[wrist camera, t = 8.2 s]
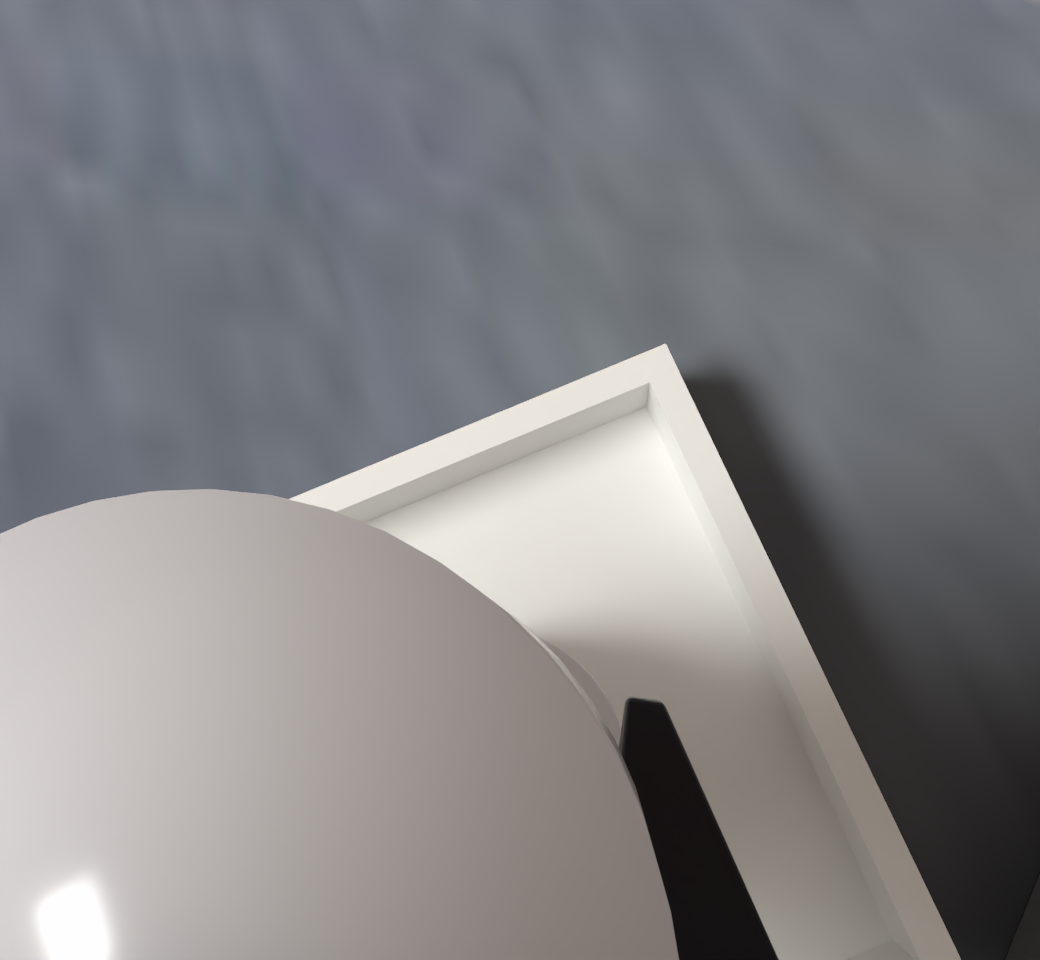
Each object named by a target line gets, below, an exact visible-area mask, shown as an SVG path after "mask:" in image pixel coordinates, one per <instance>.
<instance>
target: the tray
mask: <svg viewBox="0 0 1040 960" xmlns="http://www.w3.org/2000/svg"><path fill="white" fill-rule="evenodd" d="M289 500H293V501H297V502H301V503H305V504H309V505H314V506H318V507H322V508H326V509H330V510H332V511H335V512H337V513H340V514H342V515H345V516H348V517H350V518H353V519H355V520H358V521H360V522H363V523H365V524H368V525H370V526H373V527H375V528H378V529H380V530H383V531H386V532H387V533H389V534H391V535H393V536H395V537H396V538H398V539H400V540H402V541H403V542H405V543H407V544H409V545H411V546H412V547H414V548H416V549H418V550H419V551H421V552H423V553H425V554H427V555H428V556H430V557H432V558H434V559H435V560H437V561H439V562H441V563H442V564H443V565H445V566H446V567H448V568H449V569H450V570H452V571H453V572H454V573H456V574H457V575H459V576H460V577H461V578H463V579H464V580H465V581H467V582H468V583H470V584H471V585H472V586H474V587H475V588H476V589H478V590H479V591H481V592H482V593H483V594H485V595H486V596H487V597H489V598H490V599H492V600H493V601H494V602H496V603H497V604H498V605H499V606H501V607H502V608H503V609H505V610H506V611H507V612H509V613H510V614H511V615H513V616H514V617H515V618H517V619H518V620H519V621H521V622H522V623H523V624H525V625H526V626H527V627H528V628H529V629H530V630H531V631H532V632H533V633H534V634H535V635H536V636H537V637H539V638H541V639H543V640H545V641H547V642H548V643H550V644H552V645H554V646H556V647H557V648H559V649H560V650H562V651H563V652H565V653H566V654H567V655H569V656H570V657H571V658H573V659H574V660H575V661H577V662H578V663H579V664H580V665H581V666H582V667H583V668H584V669H585V670H586V671H587V672H588V673H589V674H590V675H591V676H592V677H593V679H594V680H595V681H596V682H597V684H598V685H599V686H600V687H601V689H602V690H603V692H604V694H605V695H606V697H607V699H608V700H609V702H610V704H611V706H612V708H613V710H614V712H615V715H616V717H617V719H618V722H619V725H620V729H621V727H622V720H623V713H624V705H625V701H626V699H627V698H628V697H630V696H634V697H641V698H648V699H654V700H659V701H661V702H662V703H663V704H664V705H665V706H666V708H667V710H668V713H669V715H670V717H671V719H672V722H673V724H674V726H675V728H676V731H677V733H678V735H679V737H680V740H681V742H682V744H683V746H684V749H685V751H686V753H687V755H688V758H689V760H690V762H691V764H692V767H693V769H694V771H695V773H696V775H697V778H698V780H699V782H700V784H701V787H702V789H703V791H704V793H705V796H706V798H707V800H708V802H709V805H710V807H711V809H712V811H713V814H714V816H715V818H716V820H717V823H718V825H719V827H720V829H721V831H722V834H723V836H724V838H725V840H726V843H727V845H728V847H729V849H730V852H731V854H732V856H733V858H734V861H735V863H736V865H737V867H738V870H739V872H740V874H741V876H742V879H743V881H744V883H745V885H746V887H747V890H748V892H749V894H750V896H751V899H752V901H753V903H754V905H755V908H756V910H757V912H758V914H759V917H760V919H761V921H762V923H763V926H764V928H765V930H766V932H767V935H768V937H769V939H770V941H771V943H772V946H773V948H774V950H775V952H776V955H777V957H778V959H779V960H961V958H960V956H959V954H958V952H957V950H956V948H955V946H954V943H953V941H952V939H951V937H950V935H949V933H948V931H947V929H946V927H945V925H944V923H943V921H942V918H941V916H940V914H939V912H938V910H937V908H936V906H935V904H934V902H933V900H932V898H931V896H930V893H929V891H928V889H927V887H926V885H925V883H924V881H923V879H922V877H921V875H920V873H919V871H918V868H917V866H916V864H915V862H914V860H913V858H912V856H911V854H910V852H909V850H908V848H907V846H906V843H905V841H904V839H903V837H902V835H901V833H900V831H899V829H898V827H897V825H896V823H895V821H894V818H893V816H892V814H891V812H890V810H889V808H888V806H887V804H886V802H885V800H884V798H883V796H882V793H881V791H880V789H879V787H878V785H877V783H876V781H875V779H874V777H873V775H872V773H871V770H870V768H869V766H868V764H867V762H866V760H865V758H864V756H863V754H862V752H861V750H860V748H859V745H858V743H857V741H856V739H855V737H854V735H853V733H852V731H851V729H850V727H849V725H848V723H847V720H846V718H845V716H844V714H843V712H842V710H841V708H840V706H839V704H838V702H837V700H836V698H835V695H834V693H833V691H832V689H831V687H830V685H829V683H828V681H827V679H826V677H825V675H824V673H823V670H822V668H821V666H820V664H819V662H818V660H817V658H816V656H815V654H814V652H813V650H812V648H811V645H810V643H809V641H808V639H807V637H806V635H805V633H804V631H803V629H802V627H801V625H800V622H799V620H798V618H797V616H796V614H795V612H794V610H793V608H792V606H791V604H790V602H789V600H788V597H787V595H786V593H785V591H784V589H783V587H782V585H781V583H780V581H779V579H778V577H777V575H776V572H775V570H774V568H773V566H772V564H771V562H770V560H769V558H768V556H767V554H766V552H765V550H764V547H763V545H762V543H761V541H760V539H759V537H758V535H757V533H756V531H755V529H754V527H753V525H752V522H751V520H750V518H749V516H748V514H747V512H746V510H745V508H744V506H743V504H742V502H741V500H740V497H739V495H738V493H737V491H736V489H735V487H734V485H733V483H732V481H731V479H730V477H729V474H728V472H727V470H726V468H725V466H724V464H723V462H722V460H721V458H720V456H719V454H718V452H717V449H716V447H715V445H714V443H713V441H712V439H711V437H710V435H709V433H708V431H707V429H706V427H705V424H704V422H703V420H702V418H701V416H700V414H699V412H698V410H697V408H696V406H695V404H694V402H693V399H692V397H691V395H690V393H689V391H688V389H687V387H686V385H685V383H684V381H683V379H682V377H681V374H680V372H679V370H678V368H677V366H676V364H675V362H674V360H673V358H672V356H671V354H670V352H669V349H668V347H667V345H666V344H664V345H661V346H659V347H657V348H654V349H652V350H649V351H647V352H644V353H642V354H640V355H637V356H635V357H632V358H630V359H627V360H625V361H623V362H620V363H618V364H615V365H613V366H610V367H608V368H606V369H603V370H601V371H598V372H596V373H594V374H591V375H589V376H586V377H584V378H581V379H579V380H577V381H574V382H572V383H569V384H567V385H564V386H562V387H560V388H557V389H555V390H552V391H550V392H547V393H545V394H543V395H540V396H538V397H535V398H533V399H531V400H528V401H526V402H523V403H521V404H518V405H516V406H514V407H511V408H509V409H506V410H504V411H501V412H499V413H497V414H494V415H492V416H489V417H487V418H484V419H482V420H480V421H477V422H475V423H472V424H470V425H467V426H465V427H463V428H460V429H458V430H455V431H453V432H451V433H448V434H446V435H443V436H441V437H438V438H436V439H434V440H431V441H429V442H426V443H424V444H421V445H419V446H417V447H414V448H412V449H409V450H407V451H404V452H402V453H400V454H397V455H395V456H392V457H390V458H388V459H385V460H383V461H380V462H378V463H375V464H373V465H371V466H368V467H366V468H363V469H361V470H358V471H356V472H354V473H351V474H349V475H346V476H344V477H341V478H339V479H337V480H334V481H332V482H329V483H327V484H325V485H322V486H320V487H317V488H315V489H312V490H310V491H308V492H305V493H303V494H300V495H298V496H295V497H293V498H291V499H289Z"/></svg>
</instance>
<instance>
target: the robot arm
mask: <svg viewBox="0 0 1040 960" xmlns="http://www.w3.org/2000/svg"><path fill="white" fill-rule="evenodd" d="M619 750H620V752H621V754H622V757H623V759H624V761H625V764H626V766H627V768H628V771H629V773H630V775H631V778H632V780H633V782H634V784H635V787H636V790H637V793H638V797H639V800H640V803H641V807H642V810H643V814H644V817H645V820H646V824H647V827H648V831H649V834H650V837H651V841H652V845H653V848H654V852H655V856H656V859H657V863H658V867H659V870H660V874H661V877H662V881H663V885H664V888H665V892H666V896H667V899H668V903H669V907H670V910H671V915H672V921H673V927H674V933H675V939H676V945H677V951H678V957H679V960H779V959H778V957H777V955H776V952H775V950H774V948H773V946H772V943H771V941H770V939H769V937H768V935H767V932H766V930H765V928H764V926H763V923H762V921H761V919H760V917H759V914H758V912H757V910H756V908H755V905H754V903H753V901H752V899H751V896H750V894H749V892H748V890H747V887H746V885H745V883H744V881H743V879H742V876H741V874H740V872H739V870H738V867H737V865H736V863H735V861H734V858H733V856H732V854H731V852H730V849H729V847H728V845H727V843H726V840H725V838H724V836H723V834H722V831H721V829H720V827H719V825H718V823H717V820H716V818H715V816H714V814H713V811H712V809H711V807H710V805H709V802H708V800H707V798H706V796H705V793H704V791H703V789H702V787H701V784H700V782H699V780H698V778H697V775H696V773H695V771H694V769H693V767H692V764H691V762H690V760H689V758H688V755H687V753H686V751H685V749H684V746H683V744H682V742H681V740H680V737H679V735H678V733H677V731H676V728H675V726H674V724H673V722H672V719H671V717H670V715H669V713H668V710H667V708H666V706H665V705H664V704H663V703H662V702H661V701H659V700H654V699H648V698H641V697H634V696H630V697H628V698H627V699H626V701H625V705H624V713H623V720H622V727H621V735H620V742H619Z"/></svg>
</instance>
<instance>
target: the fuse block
mask: <svg viewBox="0 0 1040 960" xmlns="http://www.w3.org/2000/svg"><path fill="white" fill-rule="evenodd" d="M1005 960H1040V874H1039V877H1038V879H1037V882H1036V884H1035V887H1034V889H1033V892H1032V894H1031V897H1030V899H1029V902H1028V904H1027V907H1026V909H1025V912H1024V914H1023V917H1022V919H1021V922H1020V924H1019V927H1018V929H1017V932H1016V934H1015V937H1014V939H1013V942H1012V944H1011V947H1010V949H1009V952H1008V954H1007V957H1006V959H1005Z"/></svg>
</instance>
